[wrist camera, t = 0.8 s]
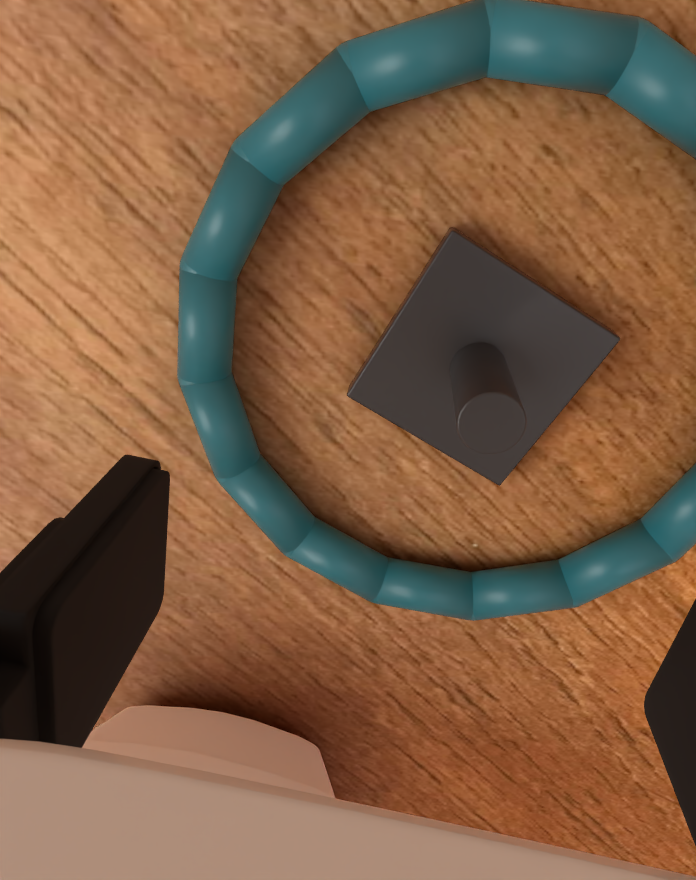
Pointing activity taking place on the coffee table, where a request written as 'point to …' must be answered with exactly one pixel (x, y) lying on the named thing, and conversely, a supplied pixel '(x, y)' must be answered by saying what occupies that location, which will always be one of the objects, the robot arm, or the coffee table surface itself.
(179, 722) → the bowl
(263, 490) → the ring
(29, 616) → the robot arm
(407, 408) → the post
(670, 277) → the coffee table surface
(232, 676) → the coffee table surface
